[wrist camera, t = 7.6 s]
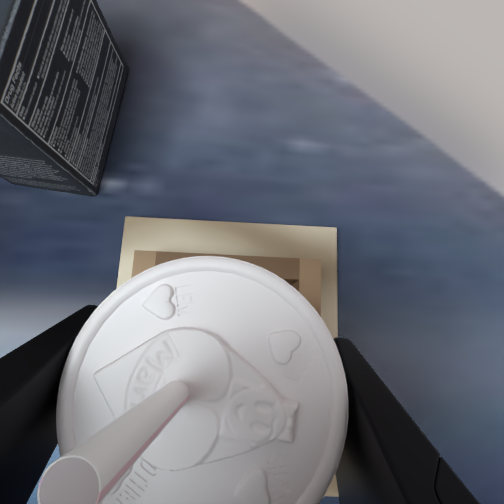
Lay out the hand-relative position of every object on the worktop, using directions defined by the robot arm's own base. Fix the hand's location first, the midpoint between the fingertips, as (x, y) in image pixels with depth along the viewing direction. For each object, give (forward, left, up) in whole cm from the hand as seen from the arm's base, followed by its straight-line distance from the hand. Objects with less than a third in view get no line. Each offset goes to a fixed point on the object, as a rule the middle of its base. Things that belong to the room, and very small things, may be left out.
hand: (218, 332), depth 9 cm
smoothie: (-1, 0, -8) cm, 8 cm away
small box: (+14, +12, -13) cm, 22 cm away
